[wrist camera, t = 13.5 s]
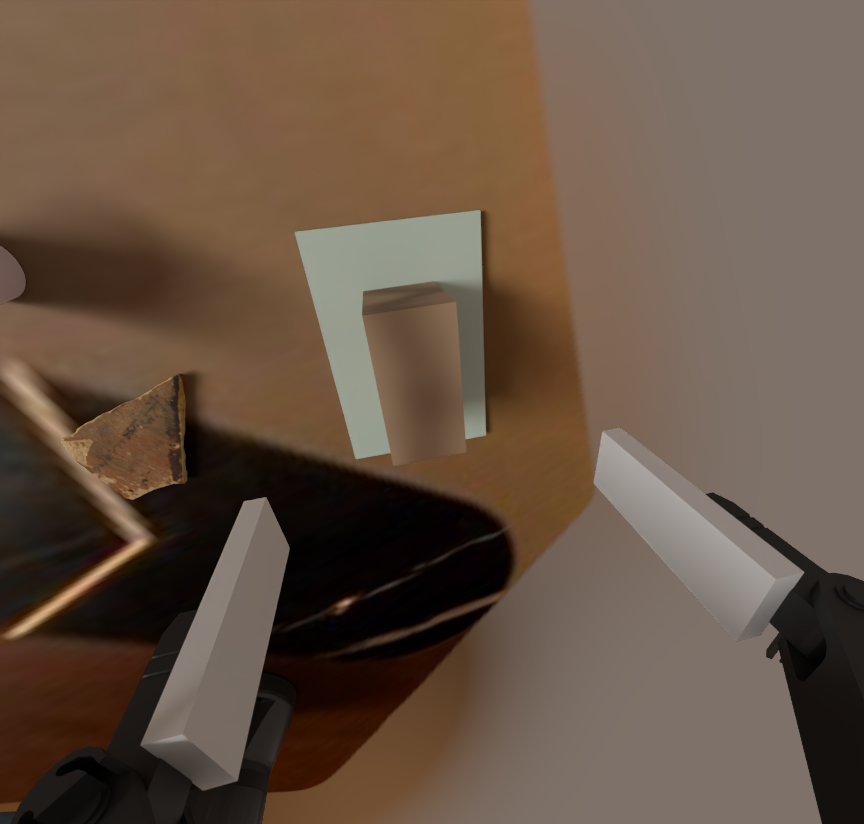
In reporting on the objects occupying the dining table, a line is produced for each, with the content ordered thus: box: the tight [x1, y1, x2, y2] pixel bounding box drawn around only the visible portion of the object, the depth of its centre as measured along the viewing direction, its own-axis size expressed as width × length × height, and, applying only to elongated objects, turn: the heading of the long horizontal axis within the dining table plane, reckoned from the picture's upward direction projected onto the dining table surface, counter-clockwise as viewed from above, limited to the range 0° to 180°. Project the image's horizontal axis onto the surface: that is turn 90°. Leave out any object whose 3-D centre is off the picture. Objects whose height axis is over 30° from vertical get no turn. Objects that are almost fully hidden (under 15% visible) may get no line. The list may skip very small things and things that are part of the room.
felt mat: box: [295, 210, 486, 459], centre depth 27 cm, size 18×12×1 cm, turn 6°
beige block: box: [362, 281, 466, 466], centre depth 23 cm, size 5×10×7 cm, turn 6°
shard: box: [61, 374, 187, 499], centre depth 27 cm, size 11×8×2 cm
